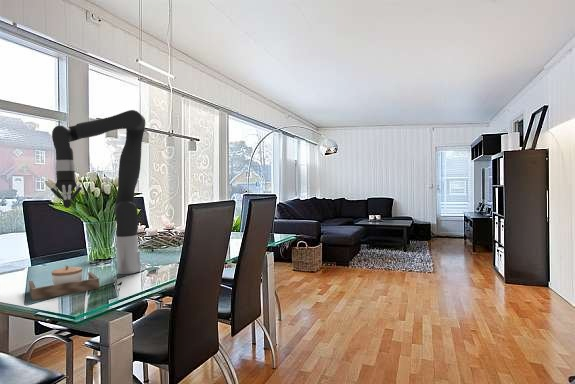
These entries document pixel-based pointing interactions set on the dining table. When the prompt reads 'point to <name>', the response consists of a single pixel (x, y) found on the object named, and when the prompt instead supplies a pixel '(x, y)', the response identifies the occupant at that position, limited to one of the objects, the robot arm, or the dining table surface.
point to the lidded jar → (66, 275)
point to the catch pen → (64, 287)
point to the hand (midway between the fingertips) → (67, 207)
